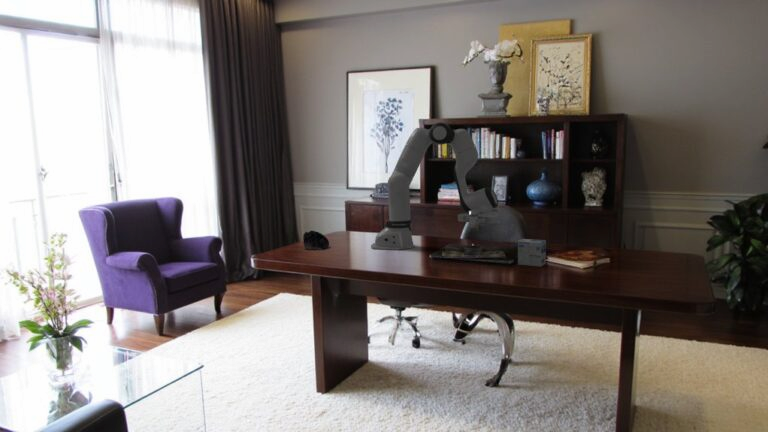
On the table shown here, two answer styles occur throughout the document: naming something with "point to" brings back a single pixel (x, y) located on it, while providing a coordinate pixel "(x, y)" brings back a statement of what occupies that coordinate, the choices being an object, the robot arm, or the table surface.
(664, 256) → the table surface
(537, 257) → the light bulb box
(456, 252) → the shaft frame
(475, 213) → the coupling sleeve
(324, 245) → the crystal cluster
